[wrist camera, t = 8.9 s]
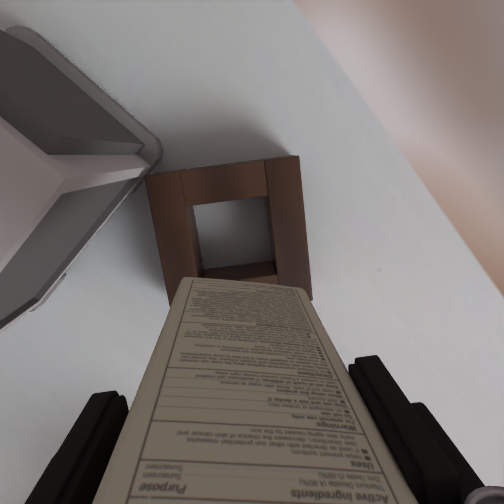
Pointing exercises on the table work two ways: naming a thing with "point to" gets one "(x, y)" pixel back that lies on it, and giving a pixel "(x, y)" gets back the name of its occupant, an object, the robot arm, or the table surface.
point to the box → (248, 410)
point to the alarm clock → (57, 167)
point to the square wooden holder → (226, 189)
